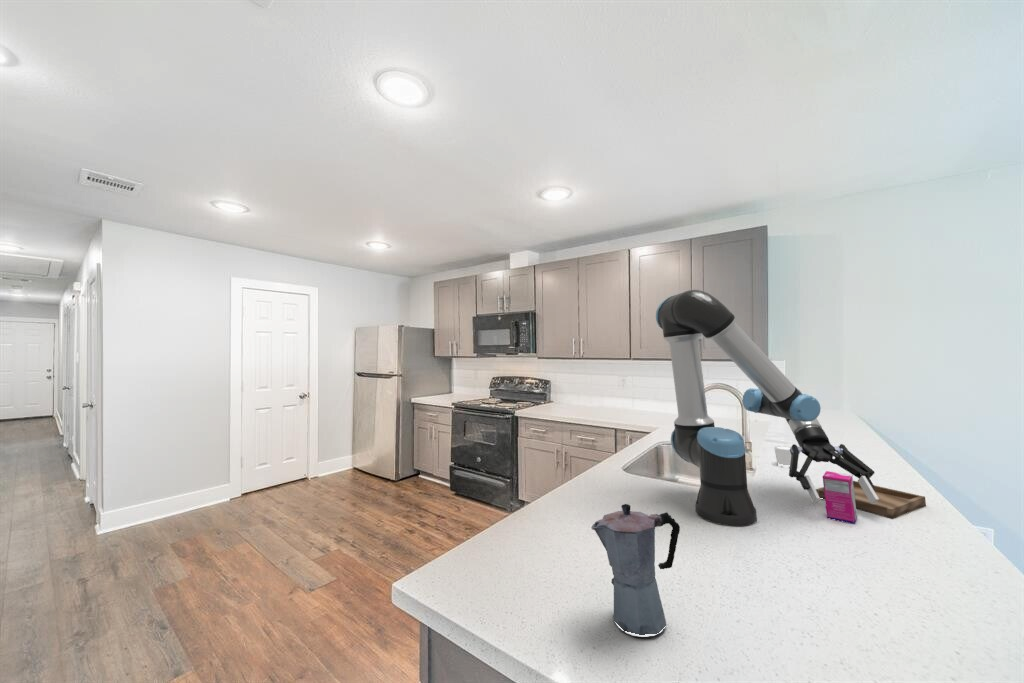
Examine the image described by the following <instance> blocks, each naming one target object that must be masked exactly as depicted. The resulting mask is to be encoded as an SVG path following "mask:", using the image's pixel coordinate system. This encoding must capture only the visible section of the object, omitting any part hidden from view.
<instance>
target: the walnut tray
mask: <svg viewBox="0 0 1024 683" xmlns="http://www.w3.org/2000/svg"><path fill="white" fill-rule="evenodd" d="M853 485H854V494H855V503H856V510H859V511H863V512H867V513H870V514H874V515H877V516H881V517H884V518H888V519H891V520H893V519H896V518H898V517H901V516H904V515H906V514H908V513H911V512H914V511H916V510H918V509H922V508H924V507H926V506H927V502H926V501H927V500H926V496H922V495H919V494H914V493H910V492H905V491H901V490H897V489H892V488H889V487H888V488H887V487H884V486H879V485H874V484H873V485H874V487H875V488H874V489H873V490H874V492H875V493H876V495H877V496H878V498H879V500H878V501H877V502H876V503H875V504H871V503H870V501H869V500H868V498H867V496H866V494H865V493H864V491H863V489H862V488H861V486H860V484H859V482H858V480H853ZM815 489H816V491H817V493H818V495H819V497H820V498H823V499H825V494H824V486H823V487H819V488H815ZM823 499H822V500H823Z"/></svg>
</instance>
